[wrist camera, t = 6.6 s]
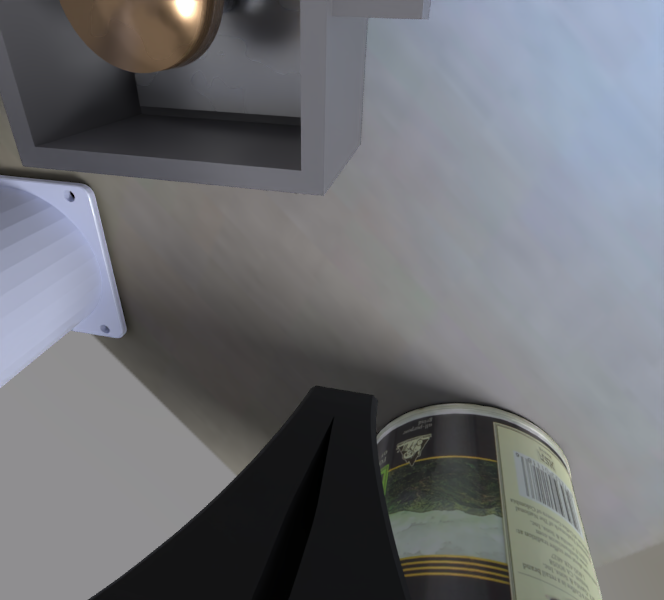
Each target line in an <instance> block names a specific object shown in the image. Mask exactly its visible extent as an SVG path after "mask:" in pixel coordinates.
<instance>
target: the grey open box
mask: <svg viewBox="0 0 664 600" xmlns="http://www.w3.org/2000/svg"><path fill="white" fill-rule="evenodd" d="M430 3H431V0H300V60H301V117H289V116H275V115H261V114H247V113H232V112H218V111H204V110H190V109H175V108H161V107H147V106H140V103H139V97H138V91H137V85H136V79H135V73H134V72H129V71H126V70H122V69H120V68H118V67H115V66H113V65H111V64H110V63H108V62H106V61H105V60H103V59H102V58H101V57H99V56H98V55H97V54H95V53H94V52H93V51H92V50H91V49H90V48H89V47H88V46H87V45H86V44H85V43H84V41H83V40H82V39H81V38H80V37H79V35H78V34H77V33H76V31H75V30H74V28H73V27H72V25H71V23H70V22H69V20H68V18H67V17H66V15H65V12H64V10H63V8H62V6H61V4H60V1H59V0H0V94H1V97H2V100H3V103H4V107H5V110H6V113H7V116H8V120H9V123H10V126H11V129H12V132H13V136H14V139H15V142H16V145H17V149H18V152H19V155H20V158H21V161H22V165H23V166H25V167H36V168H46V169H56V170H66V171H76V172H87V173H97V174H107V175H117V176H127V177H138V178H148V179H158V180H168V181H178V182H189V183H199V184H209V185H219V186H229V187H240V188H250V189H260V190H270V191H280V192H290V193H301V194H311V195H321V196H324V194H325V193H326V192H327V190H328V189H329V188H330V186H331V185H332V183H333V182H334V181H335V179H336V178H337V176H338V175H339V174H340V172H341V171H342V169H343V168H344V167H345V165H346V164H347V162H348V161H349V160H350V158H351V157H352V155H353V154H354V153H355V151H356V150H357V148H358V147H359V146H360V144H361V127H362V110H363V92H364V75H365V58H366V40H367V23H368V18H398V19H429V12H430Z"/></svg>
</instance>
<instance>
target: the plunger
mask: <svg viewBox="0 0 664 600" xmlns="http://www.w3.org/2000/svg"><path fill="white" fill-rule="evenodd" d="M59 1H60V4H61V6H62V8H63V10H64V12H65V15H66V17H67V18H68V20H69V22H70V23H71V25H72V27H73V28H74V30H75V31H76V33H77V34H78V35H79V37H80V38H81V39H82V40H83V41H84V43H85V44H86V45H87V46H88V47H89V48H90V49H91V50H92V51H93V52H94V53H95V54H97V55H98V56H99V57H101V58H102V59H103V60H105V61H106V62H108V63H110V64H111V65H113V66H115V67H118V68H120V69H122V70H126V71H129V72H134V73H135V79H136V85H137V91H138V97H139V103H140V106H147V107H161V108H175V109H190V110H204V111H218V112H232V113H247V114H261V115H275V116H289V117H301V60H300V0H59Z"/></svg>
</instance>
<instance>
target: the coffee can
mask: <svg viewBox="0 0 664 600" xmlns="http://www.w3.org/2000/svg"><path fill="white" fill-rule="evenodd" d="M376 437H377V449H378V457H379V465H380V471H381V477H382V483H383V489H384V494H385V499H386V504H387V509H388V514H389V518H390V522H391V527H392V531H393V535H394V539H395V543H396V547H397V551H398V555H399V558H400V562H401V566H402V569H403V572H404V576H405V579H406V583H407V586H408V589H409V593H410V596H411V599H412V600H602V596H601V592H600V588H599V584H598V580H597V577H596V573H595V570H594V566H593V563H592V559H591V555H590V550H589V546H588V542H587V538H586V534H585V531H584V527H583V523H582V520H581V516H580V512H579V508H578V505H577V501H576V497H575V493H574V489H573V485H572V481H571V472H570V468H569V464H568V461H567V459H566V457H565V455H564V454H563V451H562V449H561V448H560V447H559V446H558V445H557V444H556V443H555V442H554V441H553V439H552V438H551V437H550V436H549V435H547V434H546V433H545V432H544V431H543V430H541V429H540V428H539V427H537V426H536V425H534V424H533V423H531V422H529V421H527V420H526V419H523V418H521V417H519V416H517V415H515V414H512V413H509V412H506V411H503V410H500V409H498V408H494V407H488V406H481V405H475V404H463V403H450V404H439V405H432V406H428V407H423V408H420V409H416V410H413V411H410V412H407V413H406V414H404V415H402V416H400V417H398V418H396V419H395V420H393V421H392V422H390V423H389V424H388V425H387V426H385V427H384V428H383V429H382V430H381V431H380V432H379V434H378V435H377V436H376Z"/></svg>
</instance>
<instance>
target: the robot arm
mask: <svg viewBox="0 0 664 600" xmlns="http://www.w3.org/2000/svg"><path fill="white" fill-rule="evenodd" d="M70 191H71V192H72V193H73V194H74V196H75V198H73V197H72V196H71V194H70ZM106 326H107V327H108V328H107V327H106ZM69 331H76V332H82V333H88V334H94V335H100V336H107V337H113V338H121V337H122V336H123V335H124V334H125V333H126V332H127V327H126V323H125V319H124V315H123V311H122V307H121V302H120V298H119V294H118V290H117V286H116V281H115V277H114V273H113V269H112V265H111V261H110V256H109V252H108V248H107V244H106V240H105V235H104V231H103V227H102V223H101V219H100V215H99V210H98V206H97V202H96V198H95V195H94V192H93V191H92V189H91V188H90V187H89V186H87V185H85V184H82V183H73V182H63V181H53V180H43V179H34V178H24V177H14V176H4V175H0V388H1V387H2V386H3V385H4V384H6V383H7V382H8V381H9V380H10V379H12V378H13V377H14V376H15V375H16V374H18V373H19V372H20V371H21V370H23V369H24V368H25V367H26V366H28V365H29V364H30V363H31V362H32V361H34V360H35V359H36V358H37V357H38V356H40V355H41V354H42V353H43V352H45V351H46V350H47V349H48V348H49V347H51V346H52V345H53V344H54V343H56V342H57V341H58V340H59V339H60V338H61V337H63V336H64V335H65V334H66V333H68V332H69ZM377 404H378V400H377V399H376V398H375V397H374V396H373V395H368V394H362V393H356V392H350V391H344V390H338V389H332V388H326V387H320V386H315V387H313V388H312V389H310V391H309V392H308V394H307V395H306V397H305V398H304V399H303V401H302V402H301V403H300V405H299V406H298V407H297V409H296V410H295V411H294V413H293V414H292V415H291V416H290V418H289V419H288V420H287V421H286V422H285V424H284V425H283V426H282V427H281V429H280V430H279V431H278V432H277V433H276V434H275V436H274V437H273V438H272V439H271V440H270V441H269V442H268V443H267V445H266V446H265V447H264V448H263V449H262V450H261V451H260V453H259V454H258V455H257V456H256V457H255V458H254V459H253V460H252V461H251V462H250V463H249V464H248V465H247V466H246V468H245V469H244V470H243V471H242V472H241V473H240V474H239V475H238V476H237V477H236V478H235V479H234V480H233V481H232V482H231V483H230V484H229V485H228V486H227V487H226V488H225V489H224V490H223V491H222V492H221V493H220V494H219V495H218V496H217V497H216V498H215V499H213V500H212V501H211V502H210V503H209V504H208V505H207V506H206V507H205V508H204V509H203V510H202V511H200V512H199V513H198V514H197V515H196V516H195V517H194V518H193V519H191V520H190V521H189V522H188V523H187V524H186V525H184V527H182V528H181V529H180V530H179V531H178V532H176V533H175V534H174V535H173V536H172V537H170V538H169V539H168V540H167V541H166V542H164V543H163V544H162V545H161V546H159V547H158V548H157V549H156V550H154V551H153V552H152V553H151V554H149V555H148V556H147V557H146V558H144V559H143V560H142V561H141V562H139V563H138V564H137V565H136V566H134V567H133V568H131V569H130V570H129V571H128V572H126V573H125V574H124V575H122V576H121V577H120V578H118V579H117V580H116V581H114V582H113V583H111V584H110V585H109V586H107V587H106V588H104V589H103V590H102V591H100V592H99V593H97V594H96V595H94V596H93V597H91V598H90V599H89V600H412V599H411V596H410V593H409V589H408V586H407V583H406V579H405V576H404V572H403V569H402V566H401V562H400V558H399V555H398V551H397V547H396V543H395V539H394V535H393V531H392V527H391V522H390V518H389V514H388V509H387V504H386V499H385V494H384V489H383V483H382V477H381V471H380V465H379V457H378V449H377V437H376V413H377Z"/></svg>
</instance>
